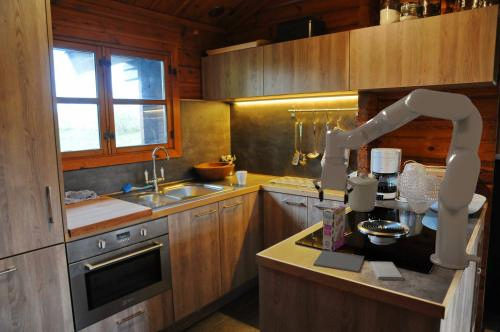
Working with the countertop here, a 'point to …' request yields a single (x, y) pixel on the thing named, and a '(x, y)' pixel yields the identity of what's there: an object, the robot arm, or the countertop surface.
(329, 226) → the candy bar box
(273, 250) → the countertop surface
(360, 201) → the canister
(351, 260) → the mat
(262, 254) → the countertop surface
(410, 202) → the heart
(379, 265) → the hard drive
